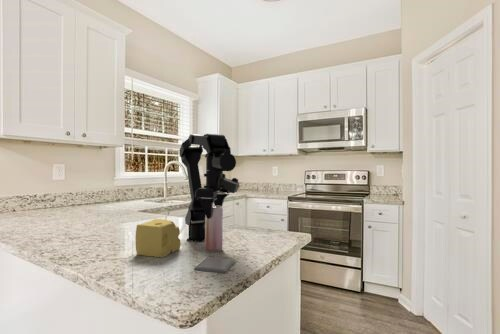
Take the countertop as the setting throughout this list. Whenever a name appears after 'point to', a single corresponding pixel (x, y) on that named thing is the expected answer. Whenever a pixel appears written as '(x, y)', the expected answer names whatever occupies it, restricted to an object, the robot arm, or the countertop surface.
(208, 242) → the beverage can
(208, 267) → the slate coaster
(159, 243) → the cheese
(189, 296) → the countertop surface
